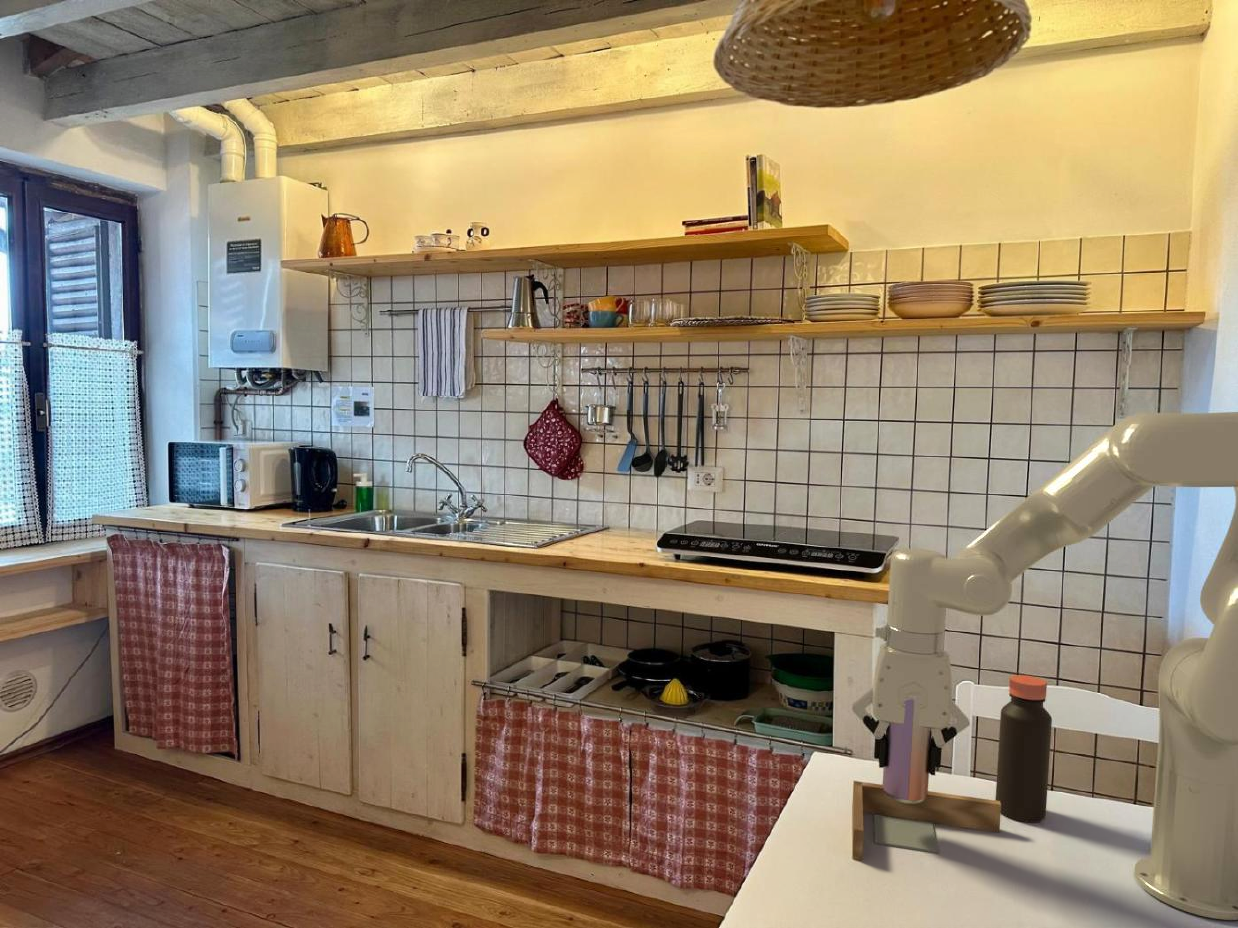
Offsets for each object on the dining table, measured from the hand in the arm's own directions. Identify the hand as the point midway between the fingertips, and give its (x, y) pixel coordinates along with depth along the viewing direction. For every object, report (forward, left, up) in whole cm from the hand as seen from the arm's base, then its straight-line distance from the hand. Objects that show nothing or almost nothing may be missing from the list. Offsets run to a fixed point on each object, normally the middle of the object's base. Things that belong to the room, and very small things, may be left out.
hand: (906, 766), depth 117 cm
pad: (0, 0, -10) cm, 10 cm away
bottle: (-17, -12, -10) cm, 23 cm away
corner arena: (-3, +2, -10) cm, 10 cm away
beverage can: (0, 0, -4) cm, 4 cm away
